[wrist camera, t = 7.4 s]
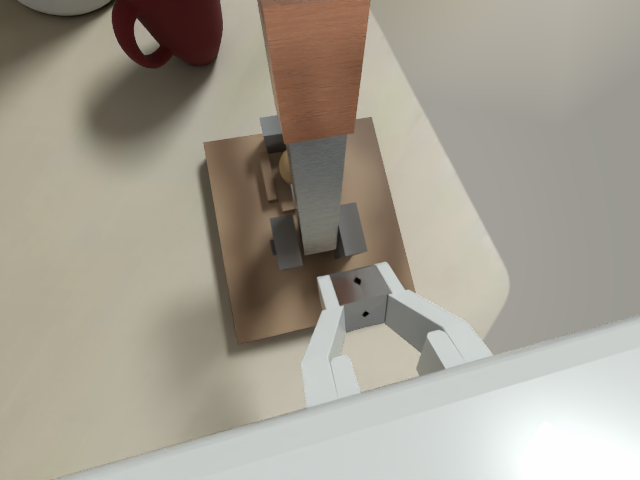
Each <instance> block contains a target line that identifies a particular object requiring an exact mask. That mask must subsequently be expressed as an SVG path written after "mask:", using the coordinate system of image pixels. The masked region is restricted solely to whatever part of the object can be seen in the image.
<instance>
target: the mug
mask: <svg viewBox="0 0 640 480" xmlns="http://www.w3.org/2000/svg"><path fill="white" fill-rule="evenodd" d="M136 19H138V20H139V21H140V22H141V23H142V24H143V26H144V27H145V28H146V29H147V30H148V31H149V33H150V34H151V35H152V36H153V37H154V39H155V40H156V41H157V42H158V43H159V44H160V47H159V48H158V49H157V50H156V51H155V52H153V53H152V54H149V55H144V54H143V53H142V52H141V51H140V49H139V47H138V45H137V43H136V40H135V36H134V23H135V20H136ZM112 24H113V29H114V33H115V36H116V38H117V41H118V43H119V44H120V46H121V48H122V49H123V50H124V52H125V53H126V54H127V55H128V56H129V57H130V58H131V59H132V60H133V61H135V62H136V63H138V64H139V65H141V66H144V67H146V68H158V67H161V66H163V65H164V64H165V63H166V62H167V61H168V60H169V59H170V58H171V57H172V55H175V56H176V57H178V58H180V59H181V60H183V61H185V62H186V63H188V64H191V65H194V66H204V65H207V64H209V63H211V62H212V61H213V60H214V59H215V58H216V56H217V54H218V51H219V47H220V43H221V38H222V31H223V20H222V12H221V4H220V0H117V1H116V2H115V4H114V7H113V10H112Z"/></svg>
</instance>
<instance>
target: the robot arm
mask: <svg viewBox="0 0 640 480" xmlns="http://www.w3.org/2000/svg"><path fill="white" fill-rule="evenodd" d="M317 284H318V290H319V296H320V301H321V306H322V312H321V314H320V317H319V320H318V322H317V325H316V327H315V330H314V332H313V335H312V337H311V340H310V343H309V345H308V348H307V350H306V353H305V355H304V358H303V360H302V363H301V370H302V377H303V384H304V391H305V398H306V405H307V408H304V409H300V410H297V411H293V412H290V413H286V414H283V415H279V416H276V417H272V418H268V419H265V420H261V421H258V422H254V423H251V424H247V425H244V426H240V427H236V428H233V429H229V430H226V431H222V432H219V433H215V434H211V435H208V436H204V437H201V438H197V439H194V440H190V441H187V442H183V443H179V444H176V445H172V446H169V447H165V448H162V449H158V450H155V451H151V452H147V453H144V454H140V455H137V456H133V457H130V458H126V459H122V460H119V461H115V462H112V463H108V464H105V465H101V466H98V467H94V468H91V469H87V470H83V471H80V472H76V473H73V474H69V475H66V476H62V477H59V478H55V479H51V480H640V315H636V316H632V317H629V318H625V319H621V320H618V321H615V322H611V323H607V324H604V325H600V326H596V327H593V328H590V329H586V330H582V331H579V332H575V333H571V334H568V335H564V336H561V337H557V338H554V339H550V340H546V341H543V342H540V343H536V344H532V345H529V346H525V347H522V348H518V349H514V350H511V351H508V352H504V353H500V354H497V355H493V354H492V353H491V352H490V350H489V349H488V348H487V346H486V345H485V344H484V343H483V341H482V340H481V339H480V337H479V336H478V335H477V334H476V332H475V331H474V330H473V329H472V327H471V326H470V325H469V323H468V322H467V321H465V320H463V319H461V318H460V317H458V316H456V315H454V314H452V313H450V312H449V311H447V310H445V309H443V308H441V307H439V306H438V305H436V304H434V303H432V302H430V301H429V300H427V299H425V298H423V297H421V296H419V295H418V294H416V293H414V292H412V291H410V290H405V289H404V288H403V286H402V285H401V283H400V281H399V280H398V278H397V277H396V275H395V274H394V272H393V270H392V269H391V267H390V266H389V264H388V263H387V262H382V263H378V264H374V265H369V266H364V267H360V268H356V269H352V270H349V271H344V272H339V273H334V274H329V275H325V276H320V277H317ZM381 323H385V324H386V325H387V326H388V327H390V328H391V329H392V330H393V331H395V332H396V333H397V334H398V335H400V336H401V337H402V338H403V339H404V340H406V341H407V342H408V343H409V344H411V345H412V346H413V347H414V348H416V349H417V350H418V351H419V352H421V356H420V359H419V362H418V365H417V368H416V369H417V371H418V373H419V375H420V376H418V377H415V378H411V379H407V380H404V381H400V382H397V383H393V384H390V385H386V386H382V387H379V388H375V389H372V390H368V391H365V392H361V391H360V388H359V385H358V382H357V379H356V376H355V373H354V370H353V366H352V363H351V360H350V357H348V356H346V355H341V352H342V348H343V344H344V339H345V335H346V332H350V331H353V330H357V329H360V328H364V327H368V326H373V325H377V324H381Z"/></svg>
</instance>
